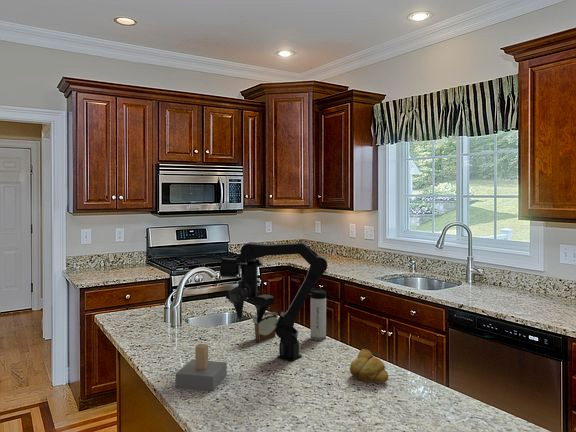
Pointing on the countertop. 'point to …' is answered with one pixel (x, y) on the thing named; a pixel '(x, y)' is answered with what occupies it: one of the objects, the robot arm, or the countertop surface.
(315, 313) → the travel mug
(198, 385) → the cover
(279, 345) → the robot arm
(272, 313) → the food container
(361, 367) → the bread roll
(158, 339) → the countertop surface
